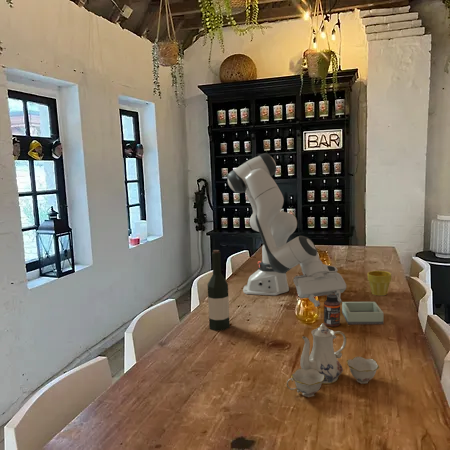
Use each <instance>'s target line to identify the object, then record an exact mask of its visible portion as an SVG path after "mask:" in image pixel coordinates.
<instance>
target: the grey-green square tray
mask: <svg viewBox="0 0 450 450" xmlns="http://www.w3.org/2000/svg"><path fill="white" fill-rule="evenodd" d="M341 313H342V315H343V317H344V319H345V321H346V323H347V325H384V311H383V310H382V309H381V308H380V307H379V305H378V304H377V302H376V301H342V302H341Z"/></svg>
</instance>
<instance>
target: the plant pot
mask: <svg viewBox="0 0 450 450" xmlns="http://www.w3.org/2000/svg"><path fill="white" fill-rule="evenodd" d="M367 281H368V282H369V286H370V287H369V288H370V291H371V294H372V295H373V296H378V297H383V296H386V295H388V292H389V288H390V287H389V286H390V283H391V282H392V273H391V272H390V271H386V270H371V271H368V272H367Z"/></svg>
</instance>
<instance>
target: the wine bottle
mask: <svg viewBox="0 0 450 450" xmlns="http://www.w3.org/2000/svg"><path fill="white" fill-rule="evenodd" d="M221 256H222V255H221V251H220V250H219V249H213V250H212V253H211V259H212V275H211V277H210V279H209V280H208V283H207V300H208V301H207V302H208V304H207V305H208V319H209V320H208V323H209V324H208V325H209V327H208V328H209V329H210V330H212V331H216V332H217V331H226V330H227V329H230V328H231V327H230V324H231V323H230V306H229V305H230V303H229V302H230V301H229V285H228V281H226V279H225V276H224V275H223V274H222V259H221Z"/></svg>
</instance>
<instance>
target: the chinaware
mask: <svg viewBox="0 0 450 450" xmlns="http://www.w3.org/2000/svg"><path fill="white" fill-rule="evenodd" d="M335 334H340V335H341V336H342V337H343V342H342V345H341V347H340V348H339V349H338V350H337V351H335V350H334V339H336V338H337V336H336V335H335ZM311 335H312V339H313V340H312V341H313V343H312V347H311V342H310V339H309V338H308V337H307V336H305V335H303V336H302V339H303V340H304V343H303V344H304V345H303V348H302V352H301V355H300V361H299V362H300V364H299V366H300V368H298V369H296V370H295V371H294V373H292V374H291V376H290V377H291V378H288V380H287V381H286V387H287V388H288V389H289V390H291V391H293V390H296V392H297V393H302V397H307V398H310V397H315V396H316V395H315V394H316V393H318V392H319V390H320V388H321V387H322V385H327V384H329V385H330V384H333V383H336V382H337V381H339V376H340V375H341V374H342V373H343V371H344V368H343V366H342V365H341V362H340V361H339V360H338V359H340V358H342V357H343V353H342V352H343V350H344V349H345V347H346V346H347V337H346V334H345V333H344V332H343V331H340V330H337V331H334V330H332V329H329V328H328V326H326V325H325V324H324V322H323V323H321V325H319V326H318V327H317V328H315V329H312V330H311ZM311 348H312V349H311ZM310 351H311V352H310ZM346 364H347V366H348V368H349V371H350V373H351V375H352V376H353V378H354V379H356V382H357V383H360V385H362V384H368V382H369V381H371V380H372V379H374V377H375V375H376V372H377V370H379V369H380V365H379V364H378V362H377V361H376V360H375V359H374V358H365V357H363V356H355V357H353V358H352V359H350V358H349V359H347V360H346ZM290 381H291V382H294V384H295V386H296V387H293V388H291V387H289V382H290Z"/></svg>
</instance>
